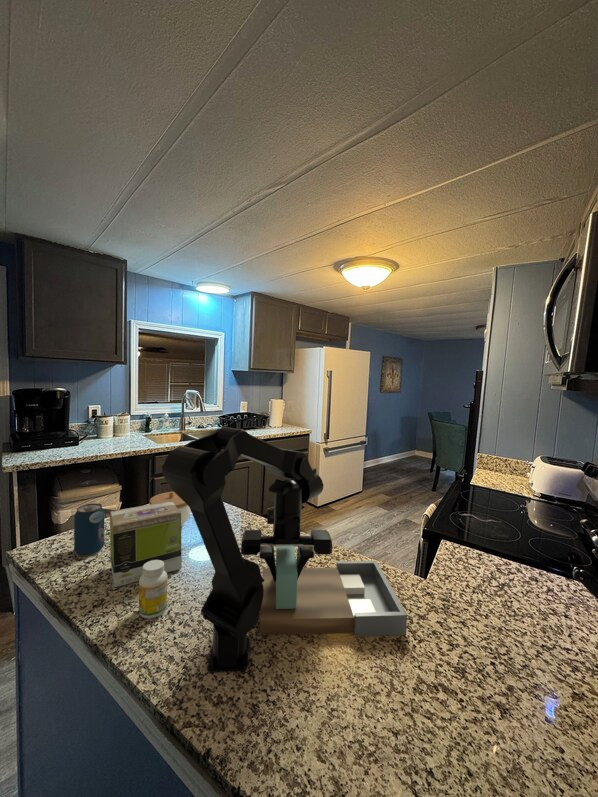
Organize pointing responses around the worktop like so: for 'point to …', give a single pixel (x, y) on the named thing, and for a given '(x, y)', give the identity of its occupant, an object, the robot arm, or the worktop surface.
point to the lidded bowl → (176, 500)
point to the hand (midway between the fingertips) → (285, 580)
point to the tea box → (144, 540)
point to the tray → (375, 601)
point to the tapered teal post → (286, 577)
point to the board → (308, 605)
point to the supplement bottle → (153, 589)
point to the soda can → (89, 529)
